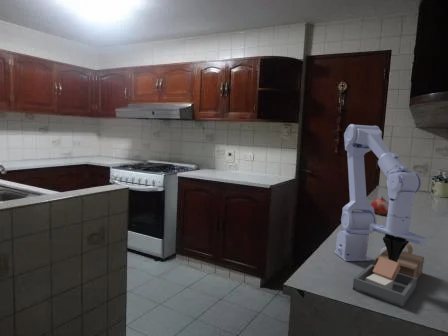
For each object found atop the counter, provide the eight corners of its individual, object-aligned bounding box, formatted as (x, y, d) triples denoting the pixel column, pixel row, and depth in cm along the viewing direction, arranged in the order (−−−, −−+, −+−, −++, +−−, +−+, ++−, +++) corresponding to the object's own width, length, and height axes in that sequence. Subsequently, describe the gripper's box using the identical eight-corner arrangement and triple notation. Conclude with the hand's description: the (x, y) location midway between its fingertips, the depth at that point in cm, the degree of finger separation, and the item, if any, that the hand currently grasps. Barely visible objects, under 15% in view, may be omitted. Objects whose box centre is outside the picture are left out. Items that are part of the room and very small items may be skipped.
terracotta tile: (381, 261, 94) (380, 256, 93) (400, 268, 90) (398, 262, 89) (374, 276, 92) (372, 271, 91) (393, 283, 88) (391, 277, 87)
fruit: (370, 210, 183) (372, 193, 182) (389, 213, 179) (391, 195, 178) (369, 214, 175) (371, 195, 174) (389, 217, 171) (391, 198, 170)
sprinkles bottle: (397, 247, 119) (376, 253, 111) (406, 239, 116) (385, 244, 108) (407, 257, 116) (386, 264, 108) (416, 250, 114) (396, 256, 106)
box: (369, 273, 98) (370, 264, 97) (415, 288, 90) (417, 278, 90) (352, 289, 87) (353, 278, 87) (402, 307, 79) (404, 295, 79)
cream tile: (365, 277, 88) (364, 286, 88) (384, 285, 84) (383, 294, 84) (374, 273, 91) (373, 281, 91) (393, 280, 87) (392, 289, 87)
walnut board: (386, 262, 108) (388, 247, 107) (421, 272, 101) (424, 257, 101) (373, 274, 98) (375, 258, 97) (411, 286, 91) (414, 269, 90)
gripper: (434, 220, 87) (427, 269, 89) (379, 207, 99) (374, 251, 100) (423, 223, 83) (416, 275, 85) (368, 210, 94) (362, 256, 96)
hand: (392, 262), depth 92 cm, fingers closed, pressing on terracotta tile
